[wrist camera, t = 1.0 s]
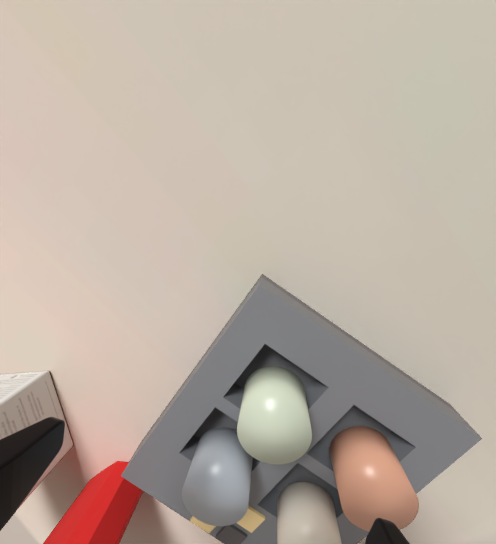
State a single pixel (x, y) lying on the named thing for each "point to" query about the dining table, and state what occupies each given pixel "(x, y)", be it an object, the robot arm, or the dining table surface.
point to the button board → (321, 406)
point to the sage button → (274, 416)
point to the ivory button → (306, 515)
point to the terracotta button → (371, 479)
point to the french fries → (99, 510)
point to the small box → (30, 408)
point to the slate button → (218, 479)
